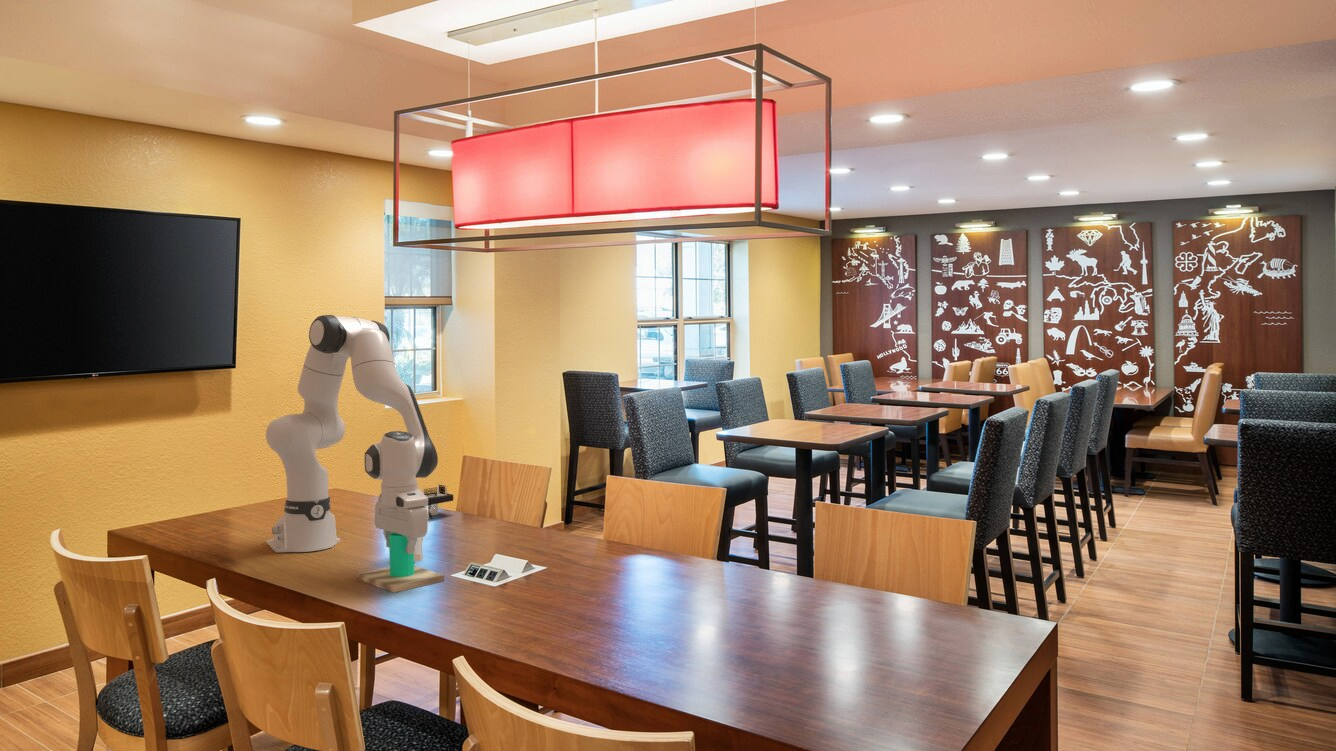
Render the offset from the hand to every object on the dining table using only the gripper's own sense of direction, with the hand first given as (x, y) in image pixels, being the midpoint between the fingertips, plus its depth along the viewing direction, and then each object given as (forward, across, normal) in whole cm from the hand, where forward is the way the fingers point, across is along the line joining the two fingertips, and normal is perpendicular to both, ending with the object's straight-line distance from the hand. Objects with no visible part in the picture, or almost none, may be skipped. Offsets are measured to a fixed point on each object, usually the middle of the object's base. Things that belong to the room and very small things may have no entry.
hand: (400, 550), depth 221 cm
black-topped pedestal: (+8, -54, +42) cm, 69 cm away
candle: (+6, 0, 0) cm, 6 cm away
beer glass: (+8, -15, +12) cm, 21 cm away
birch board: (+8, 0, 0) cm, 8 cm away
